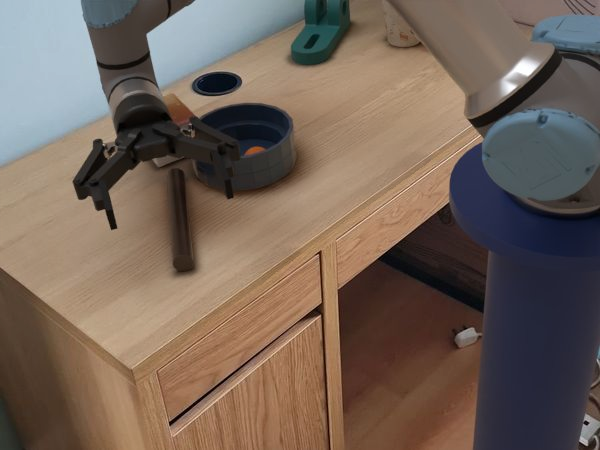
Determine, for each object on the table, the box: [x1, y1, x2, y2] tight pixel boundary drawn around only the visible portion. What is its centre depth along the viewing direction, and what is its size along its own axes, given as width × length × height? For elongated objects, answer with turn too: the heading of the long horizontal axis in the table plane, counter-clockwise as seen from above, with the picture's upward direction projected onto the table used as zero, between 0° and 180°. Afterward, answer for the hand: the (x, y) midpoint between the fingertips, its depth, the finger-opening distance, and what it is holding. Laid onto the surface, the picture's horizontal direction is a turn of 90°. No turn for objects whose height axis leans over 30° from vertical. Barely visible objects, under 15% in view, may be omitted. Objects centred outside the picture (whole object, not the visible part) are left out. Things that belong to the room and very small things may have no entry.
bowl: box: [190, 102, 298, 192], centre depth 115 cm, size 15×15×6 cm
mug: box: [381, 0, 421, 48], centre depth 140 cm, size 8×13×10 cm, turn 36°
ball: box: [245, 147, 266, 155], centre depth 112 cm, size 4×4×4 cm
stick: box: [165, 167, 195, 272], centre depth 106 cm, size 3×3×20 cm
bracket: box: [290, 0, 351, 66], centre depth 144 cm, size 18×7×8 cm, turn 161°
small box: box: [151, 93, 196, 168], centre depth 121 cm, size 8×6×10 cm
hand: (171, 204), depth 89 cm, fingers open, 13 cm apart
